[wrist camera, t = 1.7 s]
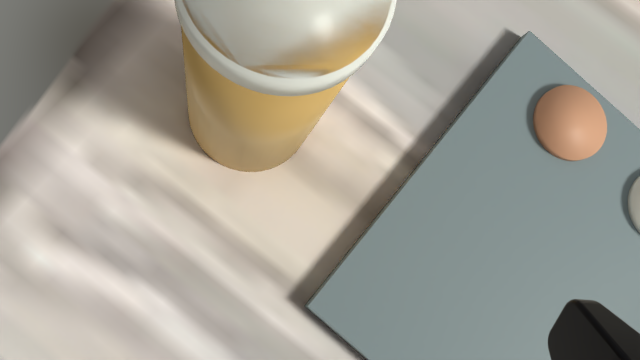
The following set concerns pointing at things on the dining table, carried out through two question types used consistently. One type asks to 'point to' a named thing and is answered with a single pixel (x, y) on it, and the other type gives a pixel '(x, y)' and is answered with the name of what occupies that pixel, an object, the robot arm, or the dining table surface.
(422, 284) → the card
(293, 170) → the dining table surface
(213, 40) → the amber cup
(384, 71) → the dining table surface
